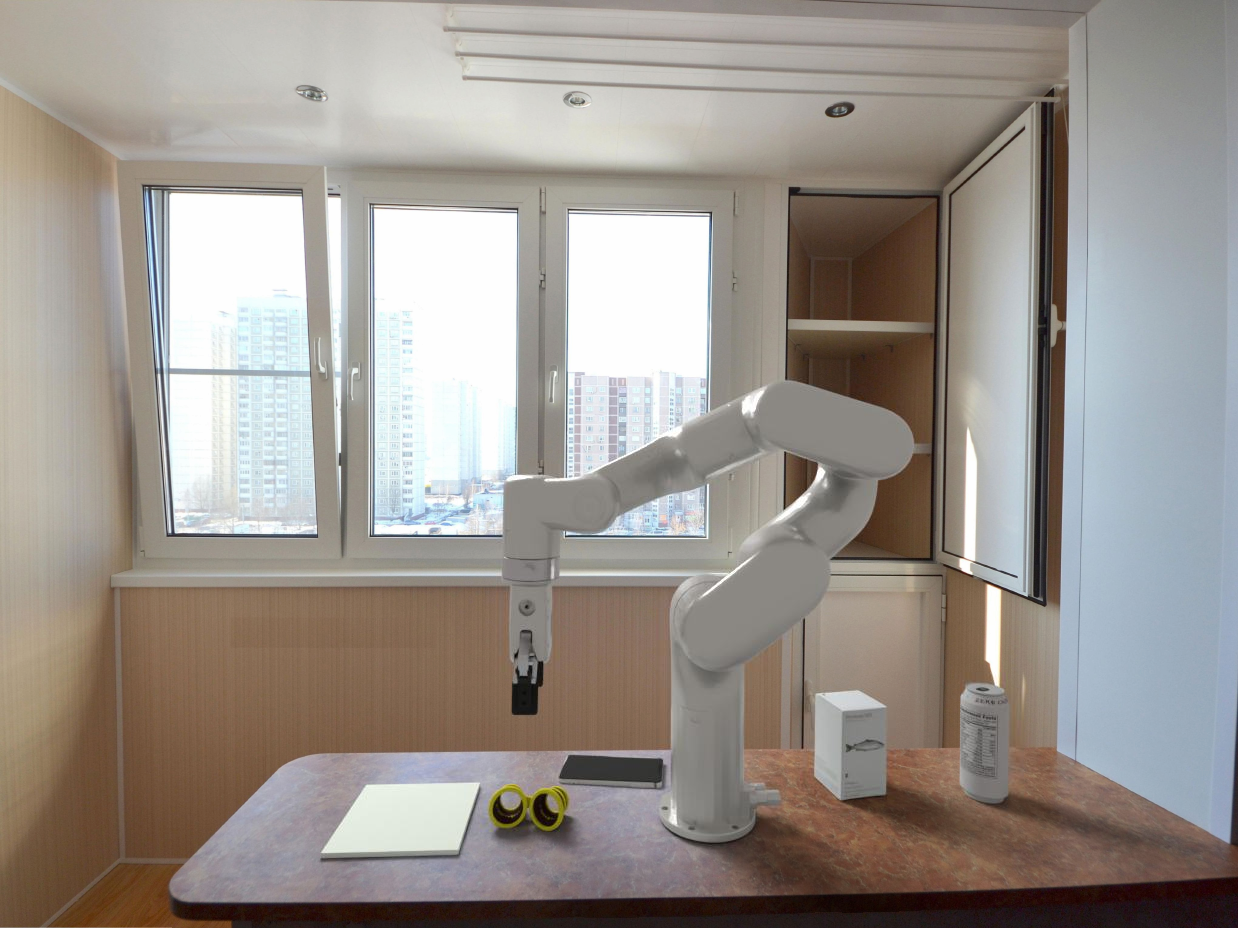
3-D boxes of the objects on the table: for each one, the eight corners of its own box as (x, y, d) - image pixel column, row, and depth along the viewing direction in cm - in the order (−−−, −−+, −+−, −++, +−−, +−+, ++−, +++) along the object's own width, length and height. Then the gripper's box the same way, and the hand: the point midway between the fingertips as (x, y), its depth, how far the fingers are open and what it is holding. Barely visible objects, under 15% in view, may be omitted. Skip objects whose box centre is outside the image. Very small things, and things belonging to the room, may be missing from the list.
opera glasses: (569, 819, 87) (570, 779, 88) (562, 834, 82) (563, 791, 83) (498, 816, 88) (500, 776, 89) (486, 830, 83) (488, 787, 84)
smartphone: (567, 753, 103) (663, 757, 102) (567, 761, 103) (663, 765, 102) (557, 778, 95) (661, 783, 94) (557, 787, 95) (661, 791, 94)
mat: (480, 786, 94) (480, 782, 94) (458, 854, 78) (458, 849, 78) (366, 788, 93) (366, 784, 93) (320, 858, 77) (320, 853, 77)
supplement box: (840, 802, 90) (841, 710, 90) (813, 776, 97) (813, 691, 97) (888, 796, 92) (888, 706, 92) (857, 771, 99) (858, 688, 99)
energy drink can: (1018, 799, 91) (1019, 691, 91) (990, 809, 88) (991, 698, 88) (977, 780, 96) (978, 678, 96) (950, 789, 94) (951, 684, 94)
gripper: (556, 582, 77) (553, 726, 78) (562, 559, 95) (559, 677, 95) (492, 581, 77) (489, 726, 77) (509, 558, 94) (507, 676, 95)
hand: (528, 699), depth 86 cm, fingers open, 9 cm apart
